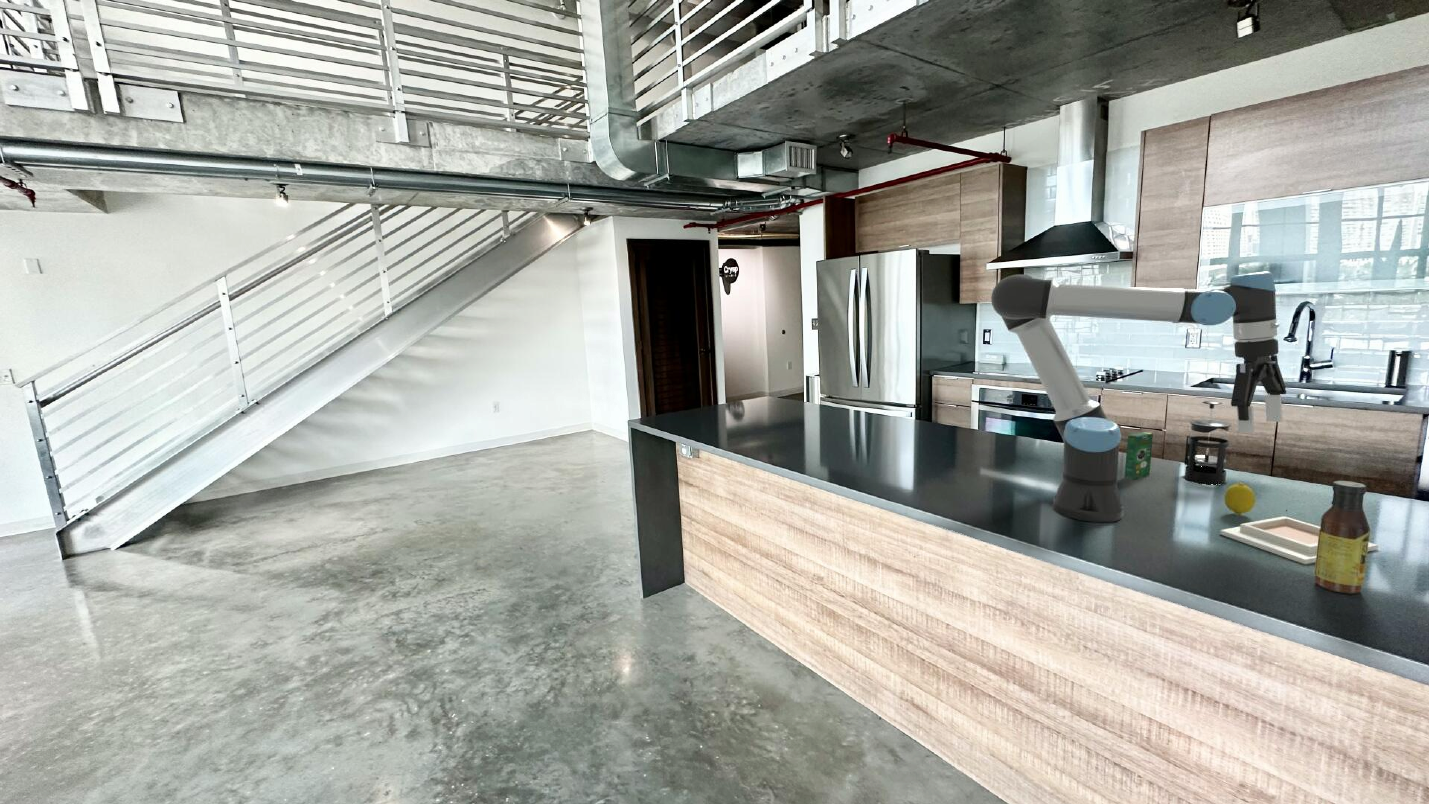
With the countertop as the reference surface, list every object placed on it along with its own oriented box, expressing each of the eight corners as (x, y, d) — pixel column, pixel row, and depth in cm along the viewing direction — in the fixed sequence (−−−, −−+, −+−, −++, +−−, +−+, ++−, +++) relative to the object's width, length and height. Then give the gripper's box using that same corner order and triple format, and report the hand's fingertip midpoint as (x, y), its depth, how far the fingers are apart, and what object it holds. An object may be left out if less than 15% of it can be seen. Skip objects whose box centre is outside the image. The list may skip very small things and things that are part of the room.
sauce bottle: (1368, 598, 104) (1384, 492, 100) (1318, 591, 107) (1333, 487, 103) (1353, 582, 109) (1369, 481, 105) (1307, 575, 112) (1320, 477, 109)
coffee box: (1140, 472, 176) (1143, 430, 173) (1150, 475, 173) (1154, 432, 171) (1123, 477, 173) (1126, 434, 170) (1133, 480, 170) (1136, 436, 168)
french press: (1237, 485, 161) (1246, 403, 157) (1204, 487, 161) (1212, 405, 157) (1201, 472, 173) (1208, 396, 169) (1170, 474, 173) (1177, 398, 169)
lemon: (1246, 520, 138) (1250, 488, 137) (1218, 513, 143) (1221, 482, 142) (1257, 515, 141) (1261, 484, 139) (1229, 509, 146) (1232, 478, 144)
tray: (1304, 564, 117) (1306, 552, 116) (1220, 534, 132) (1221, 523, 132) (1377, 549, 121) (1379, 538, 121) (1287, 522, 136) (1288, 512, 136)
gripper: (1249, 346, 128) (1255, 440, 131) (1301, 330, 139) (1305, 417, 141) (1208, 348, 135) (1214, 437, 137) (1261, 332, 145) (1265, 415, 148)
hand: (1260, 427), depth 139 cm, fingers open, 13 cm apart
